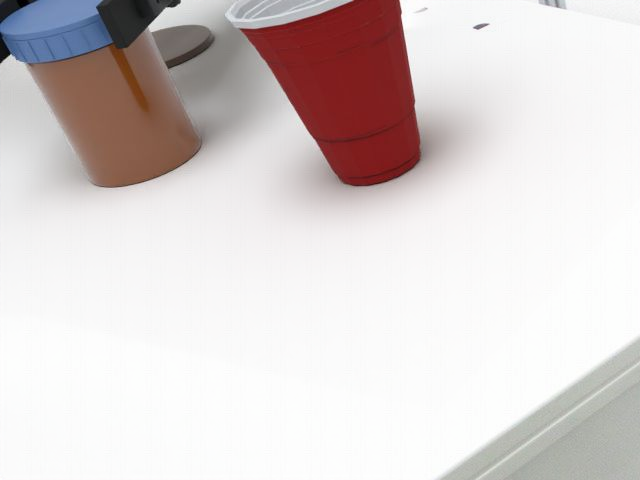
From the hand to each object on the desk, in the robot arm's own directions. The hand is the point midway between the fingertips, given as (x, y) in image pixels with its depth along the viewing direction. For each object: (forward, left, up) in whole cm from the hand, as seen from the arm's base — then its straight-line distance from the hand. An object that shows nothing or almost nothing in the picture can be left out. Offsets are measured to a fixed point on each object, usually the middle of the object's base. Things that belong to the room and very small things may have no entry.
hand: (42, 39), depth 69 cm
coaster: (-10, +27, -11) cm, 30 cm away
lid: (0, +4, 0) cm, 4 cm away
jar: (0, +5, -11) cm, 11 cm away
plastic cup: (+20, 0, -11) cm, 22 cm away
